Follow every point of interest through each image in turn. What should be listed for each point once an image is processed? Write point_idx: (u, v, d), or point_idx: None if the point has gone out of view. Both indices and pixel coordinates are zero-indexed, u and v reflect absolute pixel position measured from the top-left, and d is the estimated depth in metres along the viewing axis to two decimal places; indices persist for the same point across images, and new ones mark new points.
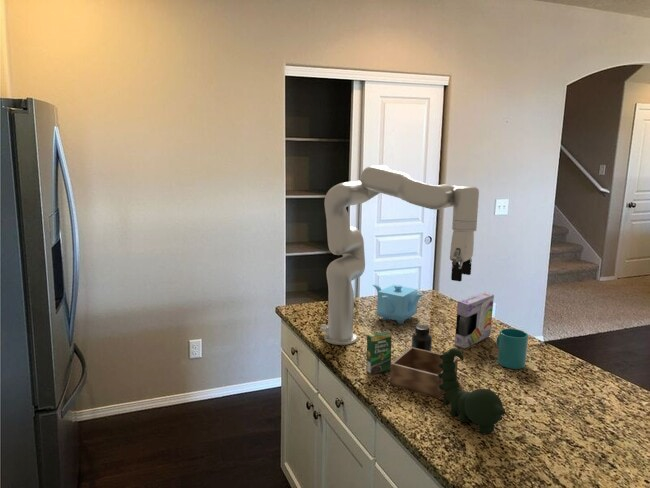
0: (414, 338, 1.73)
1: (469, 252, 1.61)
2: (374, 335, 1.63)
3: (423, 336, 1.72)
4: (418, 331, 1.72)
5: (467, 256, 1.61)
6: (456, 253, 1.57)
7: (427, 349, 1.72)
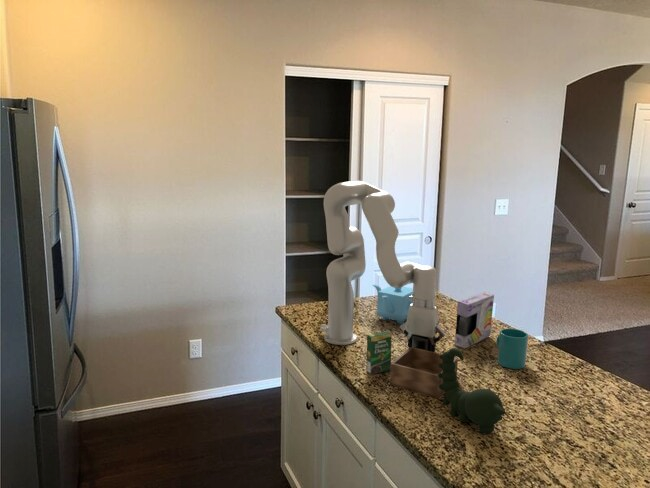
0: (414, 338, 1.73)
1: None
2: (374, 335, 1.63)
3: (423, 336, 1.72)
4: None
5: None
6: (441, 330, 1.70)
7: (427, 349, 1.72)
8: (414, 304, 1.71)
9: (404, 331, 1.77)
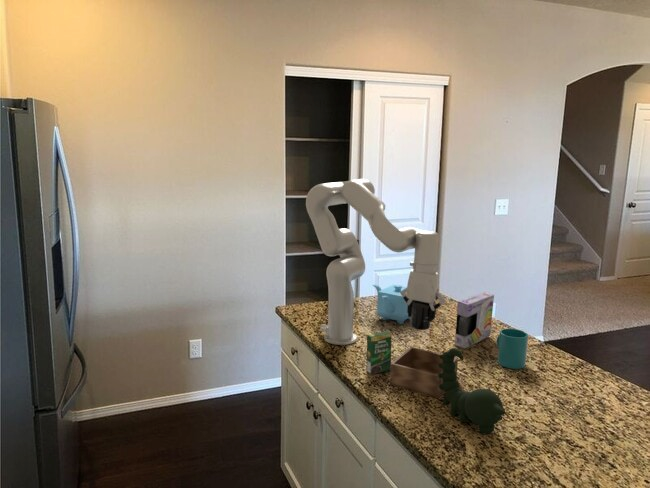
0: (414, 304, 1.71)
1: None
2: (374, 335, 1.63)
3: (423, 302, 1.70)
4: None
5: None
6: (441, 296, 1.68)
7: (427, 315, 1.70)
8: (415, 269, 1.68)
9: (404, 297, 1.75)
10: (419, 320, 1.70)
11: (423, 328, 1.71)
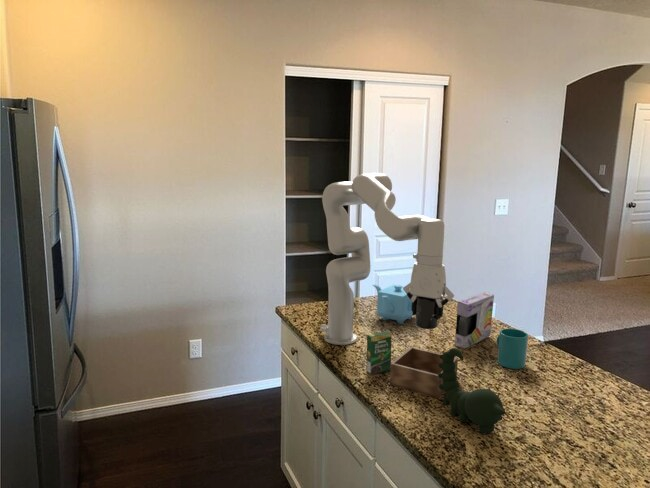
0: (419, 300, 1.54)
1: None
2: (374, 335, 1.63)
3: (429, 298, 1.53)
4: None
5: None
6: (449, 290, 1.51)
7: (434, 313, 1.53)
8: (419, 262, 1.51)
9: (408, 293, 1.57)
10: (425, 318, 1.53)
11: (430, 327, 1.53)
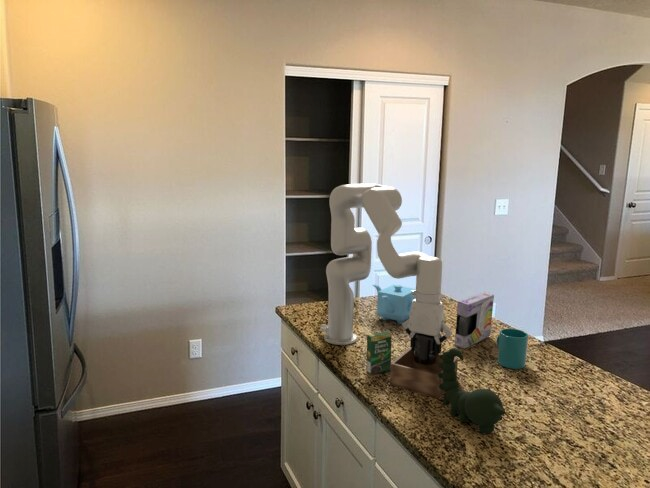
0: (417, 337, 1.55)
1: None
2: (374, 335, 1.63)
3: (428, 335, 1.55)
4: None
5: None
6: (447, 328, 1.53)
7: (432, 349, 1.55)
8: (417, 299, 1.53)
9: (406, 329, 1.59)
10: (423, 354, 1.55)
11: (428, 363, 1.55)
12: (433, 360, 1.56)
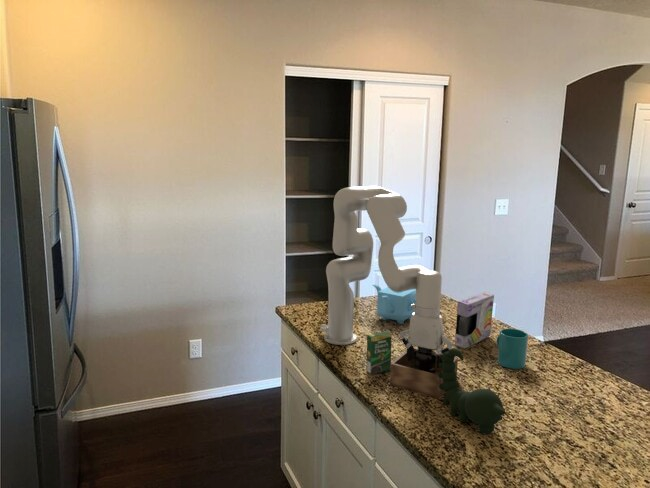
0: (417, 355, 1.57)
1: None
2: (374, 335, 1.63)
3: (427, 353, 1.56)
4: (421, 347, 1.56)
5: None
6: (447, 339, 1.53)
7: (431, 367, 1.56)
8: (417, 313, 1.54)
9: (403, 340, 1.61)
10: None
11: None
12: None
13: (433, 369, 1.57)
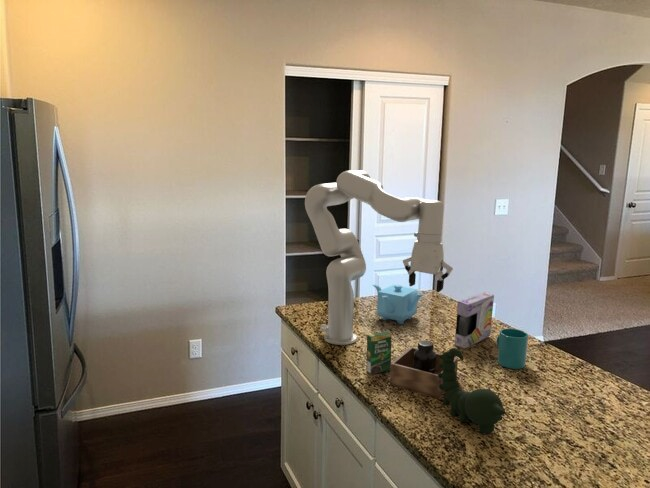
0: (417, 355, 1.57)
1: None
2: (374, 335, 1.63)
3: (427, 353, 1.56)
4: (421, 347, 1.56)
5: None
6: (447, 265, 1.64)
7: (431, 367, 1.56)
8: (419, 239, 1.64)
9: (405, 266, 1.71)
10: None
11: None
12: None
13: (433, 369, 1.57)
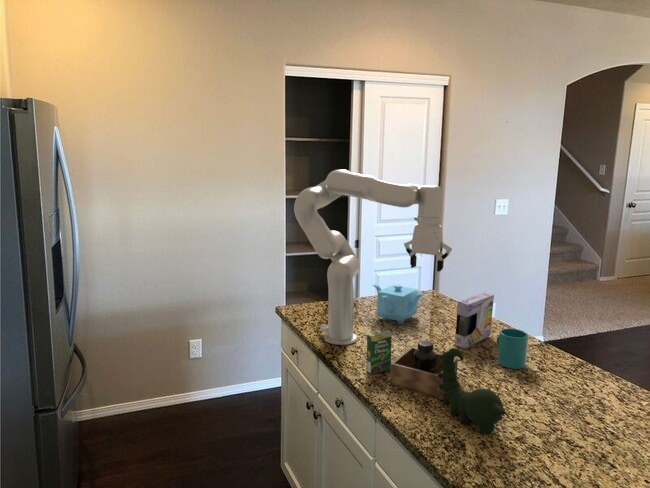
0: (416, 355, 1.57)
1: None
2: (374, 335, 1.63)
3: (426, 353, 1.56)
4: (421, 348, 1.56)
5: None
6: (446, 245, 1.74)
7: (431, 367, 1.56)
8: (419, 222, 1.75)
9: (407, 249, 1.81)
10: None
11: None
12: None
13: (433, 369, 1.57)
